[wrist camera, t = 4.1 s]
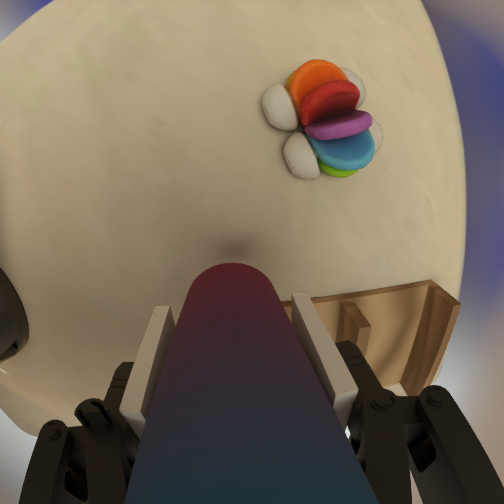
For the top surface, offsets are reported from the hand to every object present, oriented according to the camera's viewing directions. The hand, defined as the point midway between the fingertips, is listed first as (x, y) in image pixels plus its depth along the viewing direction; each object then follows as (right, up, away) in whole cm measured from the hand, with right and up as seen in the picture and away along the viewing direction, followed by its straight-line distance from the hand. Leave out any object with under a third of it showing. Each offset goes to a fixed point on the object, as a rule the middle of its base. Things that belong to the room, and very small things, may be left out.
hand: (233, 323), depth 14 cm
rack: (+11, -8, +16) cm, 21 cm away
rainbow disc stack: (+7, +15, +8) cm, 18 cm away
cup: (0, +1, +2) cm, 2 cm away
